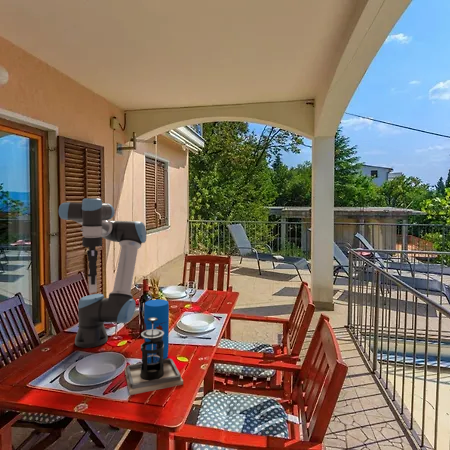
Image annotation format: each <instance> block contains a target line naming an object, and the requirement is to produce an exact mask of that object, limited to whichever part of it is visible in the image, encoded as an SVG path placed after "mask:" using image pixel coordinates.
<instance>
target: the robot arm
mask: <svg viewBox="0 0 450 450" xmlns="http://www.w3.org/2000/svg"><path fill="white" fill-rule="evenodd" d="M115 211H116V210H115V208H114V206H113V205H112V204H110V203H107V202H103V201H102V198H87V197H86V198H83V199H82V202H71V201H69V202H62V203H60V205H59V207H58V215H59V218H60V219H61V220H66V221H73V222H76V223H77V224H79V225H81V227H82V228H80V231H82V232H81V233H82V238H81V242H82V243H81V245H82V247H84V248H88V250H86V256H87V262H88V273H87V277H88V286H89V287H88V288H89V290H88V293H89V295H86V296H82V297H81V298H79V301H78V307H77V310H78V311H77V312H78V329H77V333H76V335H75V338H74V344H75V346H77V348H83V349H86V348H89V349H90V348H96V347H100V346H102V345H104V344H106V343H107V341H108V333H107V331H106V328H105V327H106V326H105V325H104V324H105V323H113V324H114V323H116V324H126V323H129V322H130V321H131V320H132V319H133V317H134V314H135V310H136V303H137V302H136V300H135V299H134V298H133V297H134V296H133V294H132V293H131V292H132V286H133V281H134V275H135V274H134V273H135V268H136V262H137V255H138V251H139V249H141V248H142V245H143V244H145V243H146V241H147V229H146V226H145V224H144V222H142V221H136V220H135V221H134V220H133V221H131V220H112V218H113V217H114V216H115V215H116V214H115ZM103 239H105V240H108V241H109V242H110V241H111V242H116V243H118V245H120V253H119V258H118V264H117V267H116V268H117V269H116V273H115V278H114V284H113V289H112V291H111V292H110V293H109V294H108V297H105V295H104V294H103V293H97V292H98V287H97V285H98V284H97V283H98V281H97V277H98V276H97V275H98V272H97V270H98V266H97V262H98V255H99V254H98V253H99V251H98V249H96V248H97V247H98V248H99V247H102V246H103ZM91 293H92V294H91ZM93 293H94V294H93Z"/></svg>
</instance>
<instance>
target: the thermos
mask: <svg viewBox="0 0 450 450" xmlns="http://www.w3.org/2000/svg"><path fill="white" fill-rule="evenodd" d="M143 310H144V313H143V314H144V316H143V317H144V320H143V321H144V325H143V326H144V327H143V328H144V330H143V331H146V330H150V329H152V323H151V321H148V320H147V319H148V318H151V317H155V318H158V320H157V321H154V323H153V329H158V330H162V331H163V332H164V335H163V339H162V341H164V349H163V359H168V357H169V340H170V339H169V338H170V337H169V329H170V327H169V322H170V321H169V320H170V316H169V315H170V304H169V301H168V300H166V299H150V300H147V301H145V303H144V309H143ZM148 341H151V340H149V339H147V338H143V343H145V342H148ZM145 350H152V344H149V345H146V346H145ZM153 350H157V344H153ZM153 354H157V353H153ZM147 355H150V354H148V353H147Z"/></svg>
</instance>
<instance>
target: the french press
mask: <svg viewBox="0 0 450 450" xmlns="http://www.w3.org/2000/svg"><path fill="white" fill-rule="evenodd" d="M147 320H148V321H151V323H152V329H150V330H146V331H144V330H143V331H142V332H141V333H140V337H141V339H142V340H144V338H147V339H149V340H151V341H148V342H145V343H144V342H143V343H142V344H141V345H140V351H141V363H142V366H141V373H140V377H141V378H142V379H144V380H149V381H150V380H155V379H160V378H161V377H162V376H163V375H164V365H163V349H164V341H162V339H163V335H164V332H163V331H162V330H158V329H153V323H154V321H157V320H158V318H155V317H151V318H148V319H147ZM149 344H152V350H145V346H146V345H149ZM153 344H157V350H153ZM147 353H148V354H150V355H147ZM153 353H157V354H153ZM151 369H156V370H158V371H154V372H147V370H151Z"/></svg>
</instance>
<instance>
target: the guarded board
mask: <svg viewBox="0 0 450 450" xmlns="http://www.w3.org/2000/svg"><path fill="white" fill-rule="evenodd" d="M163 365H164V375H163V376H162V377H161V378H160V379H155V380H150V381H149V380H144V379H142V378H141V377H140V373H141V366H142V362H139V363H133V364H127V366H126V367H124V375H126V376H125V380H126V384H127V387H128V393H129V395H130V396H131V395H132V396H133V395H137V394H143V393H146V392H152V391H157V390H158V391H159V390H162V389H168V388H173V387H177V386H181V385H182V386H183V385H184V380H183V378H182V375H181V373H180V371H179V369H178V367H177V365H176V364H175V361H174V360H173V358H168V357H167V358H166V359H163ZM154 371H158V370H156V369H151V370H147V372H154Z"/></svg>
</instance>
